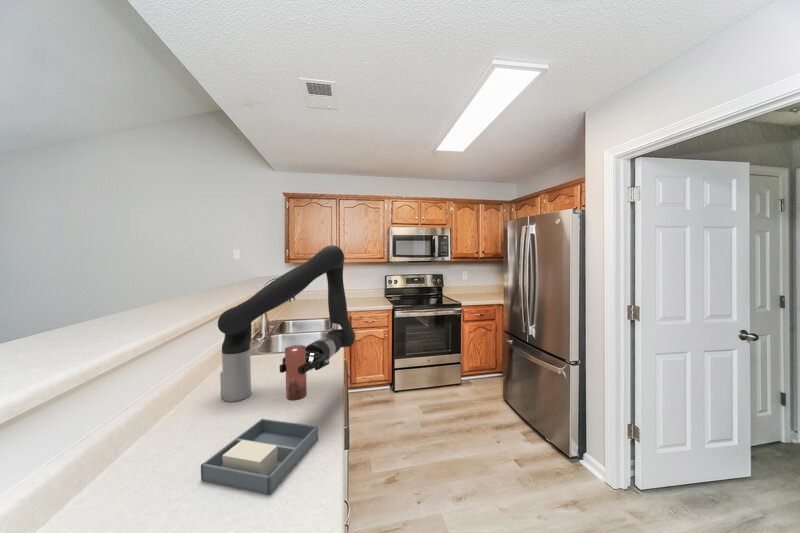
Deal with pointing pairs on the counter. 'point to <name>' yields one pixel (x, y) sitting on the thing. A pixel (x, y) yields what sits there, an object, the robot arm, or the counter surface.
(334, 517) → the counter surface
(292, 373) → the copper cylinder
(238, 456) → the cream block
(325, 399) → the counter surface
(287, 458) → the tray
